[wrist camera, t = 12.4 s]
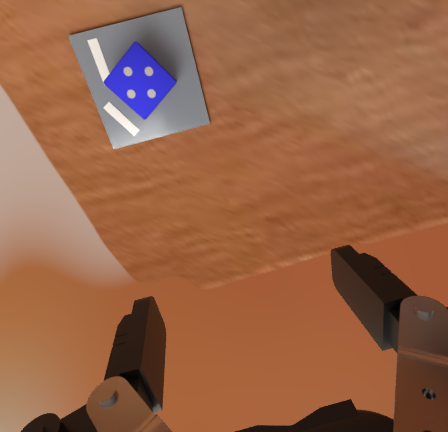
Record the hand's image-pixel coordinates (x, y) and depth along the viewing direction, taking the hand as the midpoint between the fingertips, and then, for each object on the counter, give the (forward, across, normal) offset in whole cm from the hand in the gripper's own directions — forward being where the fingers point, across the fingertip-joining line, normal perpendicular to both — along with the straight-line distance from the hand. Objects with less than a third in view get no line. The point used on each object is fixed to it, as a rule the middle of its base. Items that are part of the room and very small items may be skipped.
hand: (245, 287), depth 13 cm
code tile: (+27, +4, -9) cm, 29 cm away
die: (+27, +4, -9) cm, 29 cm away
